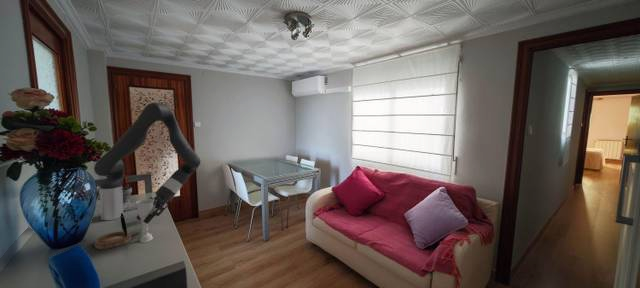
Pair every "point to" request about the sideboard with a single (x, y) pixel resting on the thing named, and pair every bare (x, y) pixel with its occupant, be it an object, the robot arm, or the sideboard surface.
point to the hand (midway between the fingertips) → (141, 220)
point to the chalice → (143, 211)
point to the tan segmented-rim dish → (112, 240)
